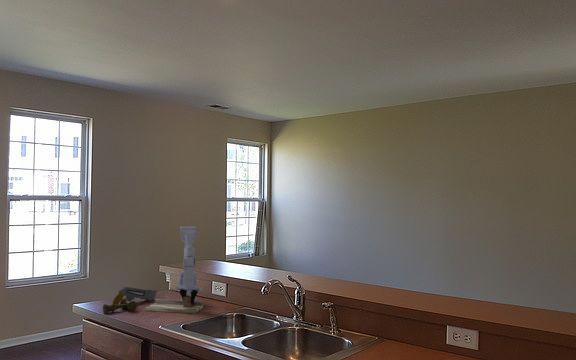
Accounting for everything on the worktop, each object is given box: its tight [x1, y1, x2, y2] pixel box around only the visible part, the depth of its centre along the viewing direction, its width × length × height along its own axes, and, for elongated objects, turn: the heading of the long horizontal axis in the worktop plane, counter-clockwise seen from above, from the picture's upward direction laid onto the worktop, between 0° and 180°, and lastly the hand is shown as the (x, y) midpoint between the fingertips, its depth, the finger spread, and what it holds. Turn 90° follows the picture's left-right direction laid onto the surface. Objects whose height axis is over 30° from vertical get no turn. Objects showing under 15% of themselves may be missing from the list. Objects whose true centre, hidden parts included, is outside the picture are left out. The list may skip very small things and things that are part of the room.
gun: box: [112, 286, 158, 305], centre depth 283 cm, size 3×25×15 cm, turn 136°
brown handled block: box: [182, 295, 194, 308], centre depth 265 cm, size 10×4×6 cm, turn 169°
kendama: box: [102, 297, 140, 315], centre depth 263 cm, size 6×10×20 cm
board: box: [144, 298, 204, 314], centre depth 267 cm, size 13×28×4 cm, turn 79°
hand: (188, 303), depth 268 cm, fingers closed on brown handled block, 4 cm apart
